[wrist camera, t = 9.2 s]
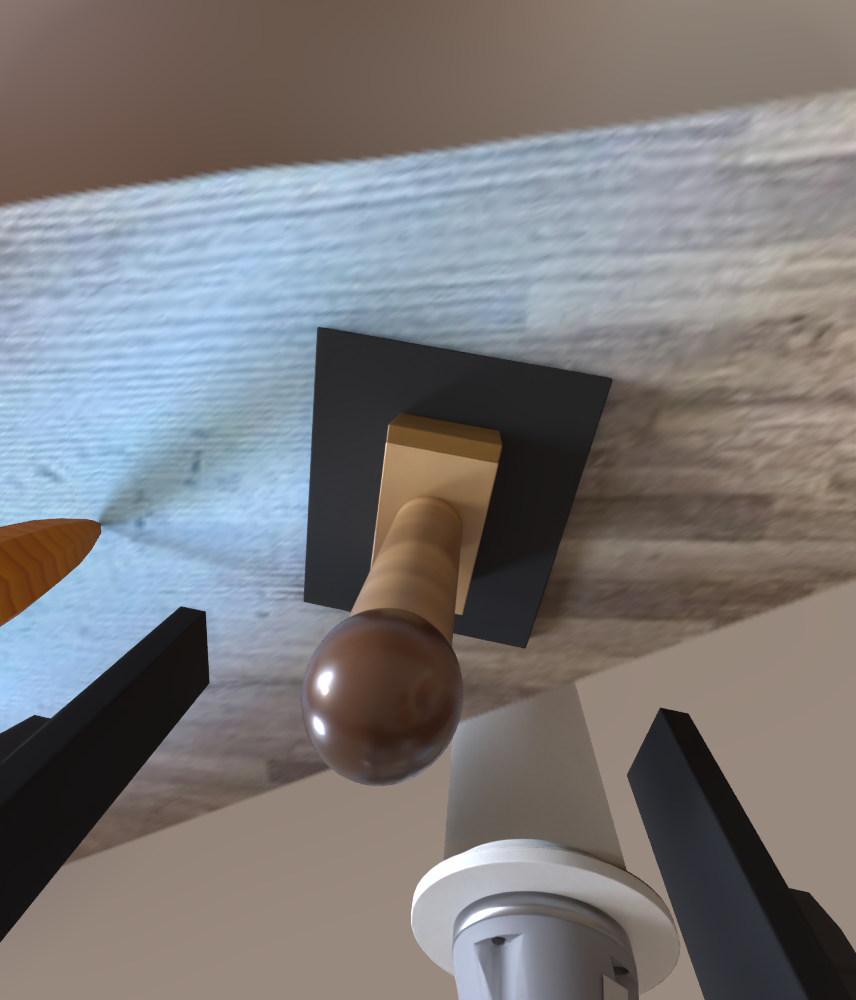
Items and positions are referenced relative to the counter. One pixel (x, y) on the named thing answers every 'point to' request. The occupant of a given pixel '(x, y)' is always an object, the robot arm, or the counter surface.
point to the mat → (460, 399)
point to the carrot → (40, 558)
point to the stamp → (405, 609)
